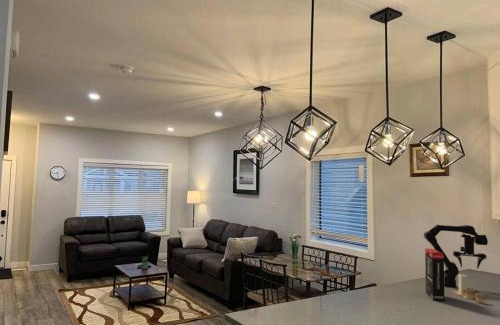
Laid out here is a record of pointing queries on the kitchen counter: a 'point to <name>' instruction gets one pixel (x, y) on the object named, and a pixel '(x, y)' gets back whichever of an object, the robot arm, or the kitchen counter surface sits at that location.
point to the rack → (473, 295)
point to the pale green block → (462, 283)
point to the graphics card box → (434, 274)
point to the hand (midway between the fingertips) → (469, 268)
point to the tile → (457, 292)
